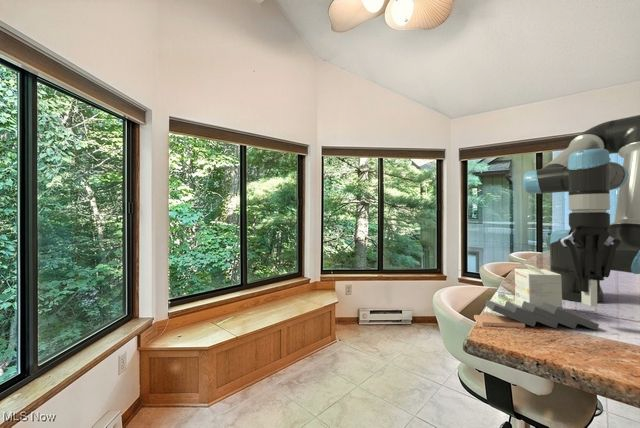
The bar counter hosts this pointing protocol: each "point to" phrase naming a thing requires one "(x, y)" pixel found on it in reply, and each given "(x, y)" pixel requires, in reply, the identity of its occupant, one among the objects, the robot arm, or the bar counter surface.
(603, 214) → the robot arm
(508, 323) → the domino
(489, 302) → the domino
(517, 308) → the domino
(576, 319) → the domino
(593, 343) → the bar counter surface
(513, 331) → the bar counter surface
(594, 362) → the bar counter surface
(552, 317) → the domino
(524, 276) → the ink box
